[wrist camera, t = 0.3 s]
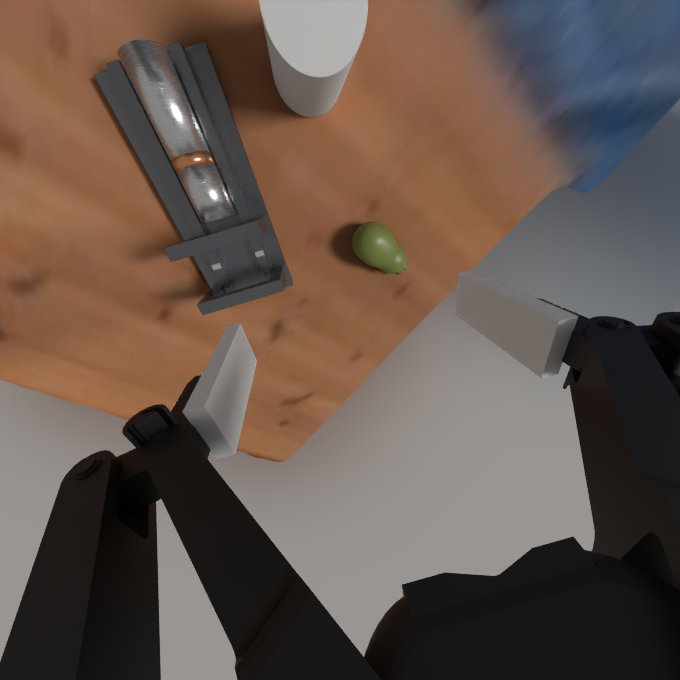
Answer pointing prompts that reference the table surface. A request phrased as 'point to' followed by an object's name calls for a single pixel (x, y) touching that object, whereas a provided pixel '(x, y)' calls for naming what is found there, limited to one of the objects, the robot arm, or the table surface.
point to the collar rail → (237, 176)
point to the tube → (176, 126)
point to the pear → (379, 248)
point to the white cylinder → (312, 49)
